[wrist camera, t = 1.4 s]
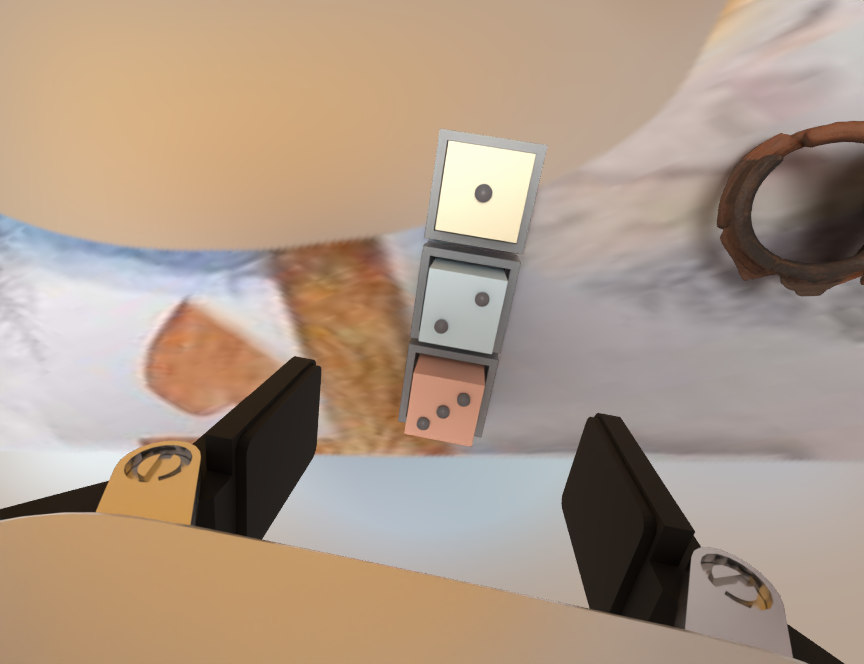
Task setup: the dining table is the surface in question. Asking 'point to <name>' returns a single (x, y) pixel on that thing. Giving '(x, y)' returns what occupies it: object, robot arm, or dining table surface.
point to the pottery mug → (738, 208)
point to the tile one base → (438, 178)
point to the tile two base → (471, 256)
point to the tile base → (451, 353)
